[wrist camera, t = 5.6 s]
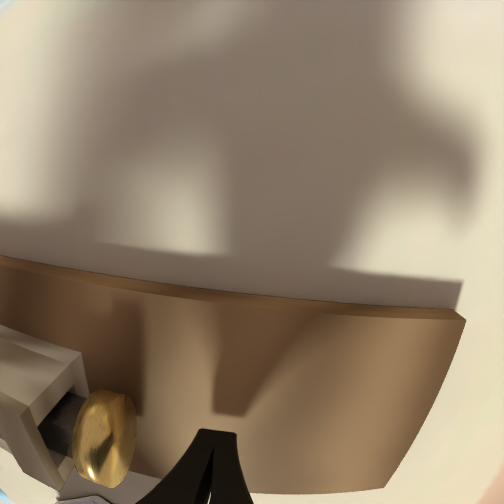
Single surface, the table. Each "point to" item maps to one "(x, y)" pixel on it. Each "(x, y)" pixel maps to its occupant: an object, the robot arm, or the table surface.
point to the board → (221, 375)
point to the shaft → (93, 434)
